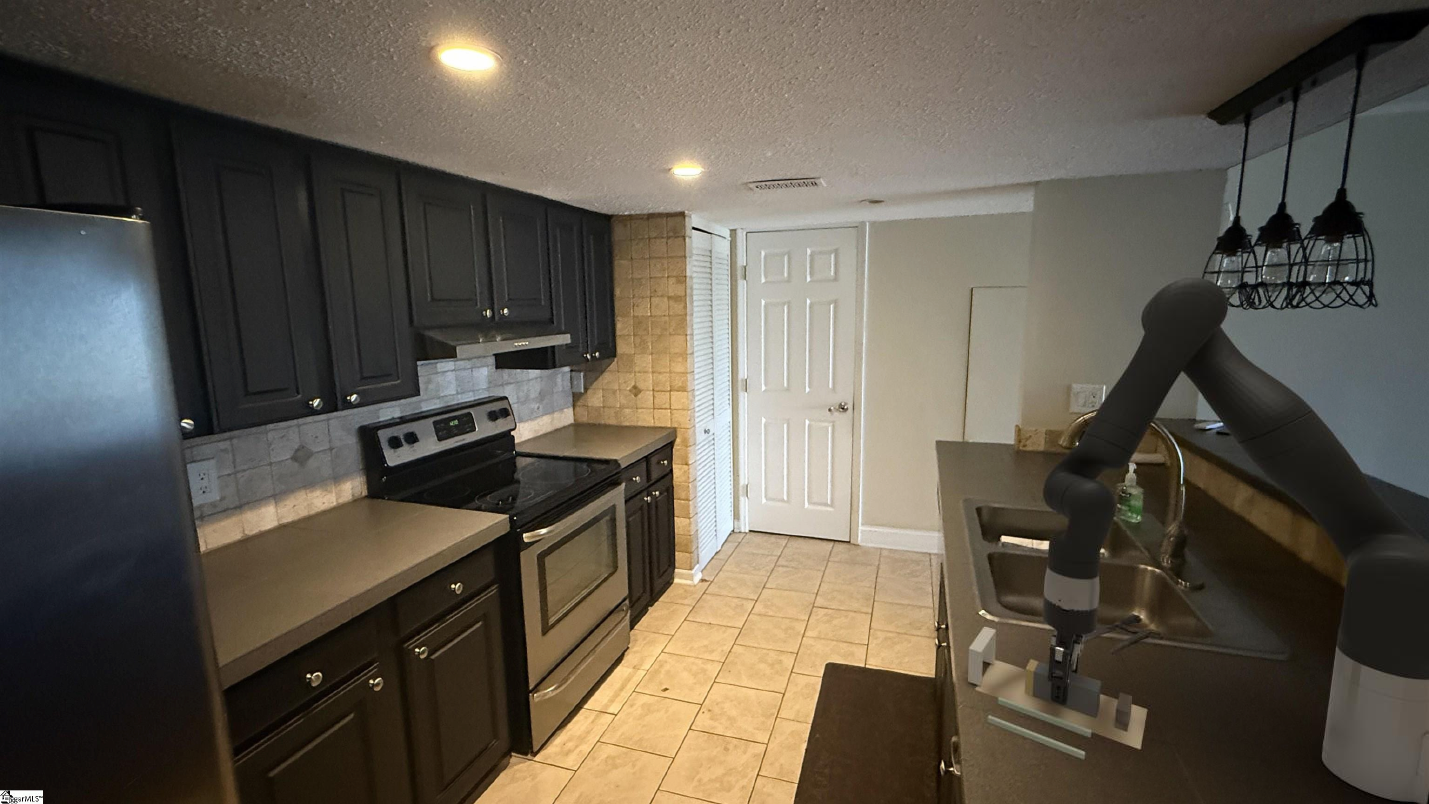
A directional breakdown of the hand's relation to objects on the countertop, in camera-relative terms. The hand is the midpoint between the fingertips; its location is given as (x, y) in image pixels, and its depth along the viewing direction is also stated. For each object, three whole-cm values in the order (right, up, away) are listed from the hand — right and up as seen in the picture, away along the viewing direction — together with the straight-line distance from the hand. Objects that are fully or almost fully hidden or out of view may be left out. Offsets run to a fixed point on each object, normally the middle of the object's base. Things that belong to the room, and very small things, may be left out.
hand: (1064, 688), depth 98 cm
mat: (-8, -4, -6) cm, 10 cm away
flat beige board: (-1, -3, 0) cm, 3 cm away
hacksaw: (+21, 0, +16) cm, 27 cm away
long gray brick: (0, -2, 0) cm, 2 cm away
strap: (-10, -2, +8) cm, 13 cm away
